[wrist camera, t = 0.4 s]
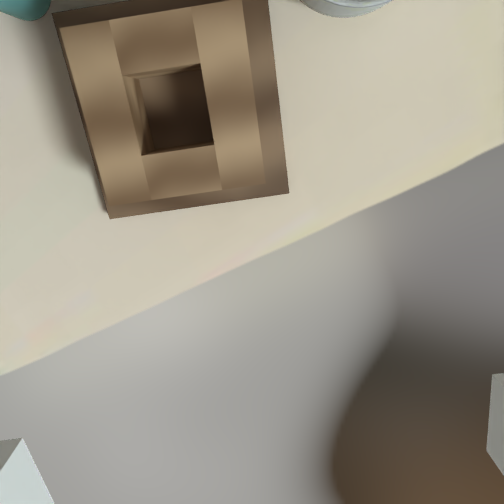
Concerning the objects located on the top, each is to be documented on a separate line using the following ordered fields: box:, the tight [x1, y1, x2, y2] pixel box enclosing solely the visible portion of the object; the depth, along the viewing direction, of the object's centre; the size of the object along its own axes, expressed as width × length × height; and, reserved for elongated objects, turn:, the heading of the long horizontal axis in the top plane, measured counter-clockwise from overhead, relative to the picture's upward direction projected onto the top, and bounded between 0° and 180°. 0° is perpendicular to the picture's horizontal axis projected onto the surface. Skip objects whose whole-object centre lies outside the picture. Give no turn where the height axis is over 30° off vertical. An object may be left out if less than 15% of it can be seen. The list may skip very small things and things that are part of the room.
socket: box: [52, 0, 289, 219], centre depth 30 cm, size 16×16×6 cm
